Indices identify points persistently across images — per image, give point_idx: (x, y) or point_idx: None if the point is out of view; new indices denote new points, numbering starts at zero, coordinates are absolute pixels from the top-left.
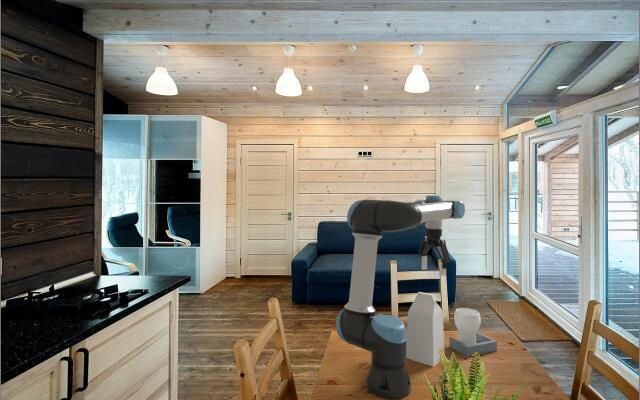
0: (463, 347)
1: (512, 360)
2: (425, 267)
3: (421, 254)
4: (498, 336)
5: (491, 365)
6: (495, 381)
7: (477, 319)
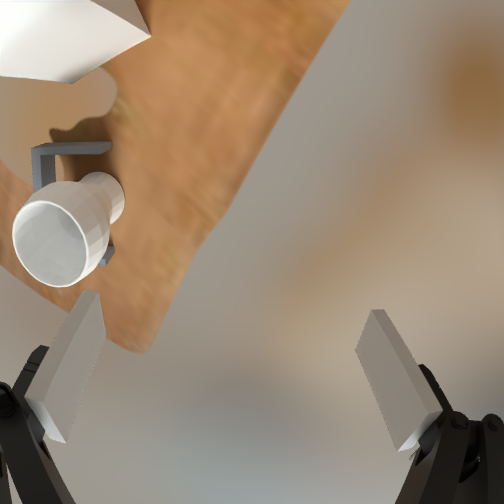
0: (47, 146)
1: (11, 235)
2: (366, 350)
3: (455, 427)
4: (124, 322)
5: (3, 168)
6: None
7: (20, 240)
